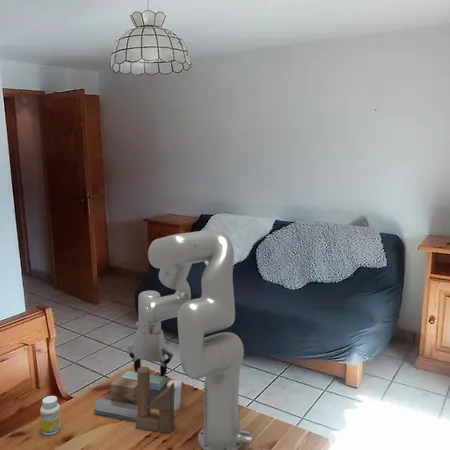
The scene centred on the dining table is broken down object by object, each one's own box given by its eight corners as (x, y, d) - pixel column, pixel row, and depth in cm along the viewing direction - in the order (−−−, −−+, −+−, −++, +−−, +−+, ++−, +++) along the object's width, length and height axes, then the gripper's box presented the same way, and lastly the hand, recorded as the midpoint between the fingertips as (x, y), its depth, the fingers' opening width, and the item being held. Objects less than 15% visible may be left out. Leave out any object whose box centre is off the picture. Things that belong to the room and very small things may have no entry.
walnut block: (140, 402, 145) (139, 381, 144) (134, 409, 141) (134, 388, 140) (117, 398, 147) (116, 377, 146) (110, 404, 143) (110, 384, 142)
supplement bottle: (56, 436, 130) (55, 405, 128) (38, 435, 130) (36, 404, 129) (64, 424, 135) (62, 394, 134) (46, 423, 136) (44, 393, 134)
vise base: (166, 387, 157) (166, 376, 156) (138, 423, 137) (138, 410, 136) (126, 380, 161) (126, 370, 160) (94, 414, 141) (93, 402, 140)
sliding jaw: (164, 383, 156) (164, 376, 156) (159, 390, 152) (159, 383, 151) (127, 377, 160) (127, 370, 160) (121, 383, 156) (120, 377, 155)
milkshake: (178, 414, 142) (178, 384, 140) (164, 409, 144) (164, 379, 142) (186, 407, 145) (186, 378, 144) (173, 402, 148) (172, 373, 146)
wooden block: (170, 434, 132) (170, 376, 129) (135, 428, 134) (134, 371, 131) (174, 426, 136) (174, 369, 132) (140, 421, 138) (139, 365, 135)
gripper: (121, 327, 157) (122, 374, 160) (168, 334, 152) (169, 382, 155) (132, 319, 164) (133, 364, 167) (177, 326, 159) (177, 371, 162)
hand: (150, 373), depth 161 cm, fingers open, 9 cm apart
